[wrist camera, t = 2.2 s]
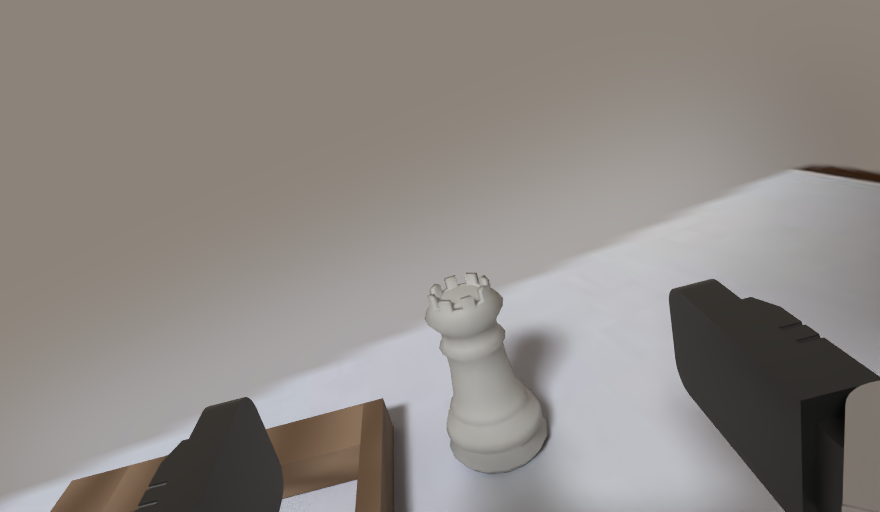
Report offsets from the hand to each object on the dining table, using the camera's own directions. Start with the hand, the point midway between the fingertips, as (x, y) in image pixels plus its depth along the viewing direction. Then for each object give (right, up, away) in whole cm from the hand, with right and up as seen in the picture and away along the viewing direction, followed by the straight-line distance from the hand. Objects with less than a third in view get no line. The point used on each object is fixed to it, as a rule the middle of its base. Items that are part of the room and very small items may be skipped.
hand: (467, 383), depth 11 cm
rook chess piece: (+2, -6, +15) cm, 17 cm away
